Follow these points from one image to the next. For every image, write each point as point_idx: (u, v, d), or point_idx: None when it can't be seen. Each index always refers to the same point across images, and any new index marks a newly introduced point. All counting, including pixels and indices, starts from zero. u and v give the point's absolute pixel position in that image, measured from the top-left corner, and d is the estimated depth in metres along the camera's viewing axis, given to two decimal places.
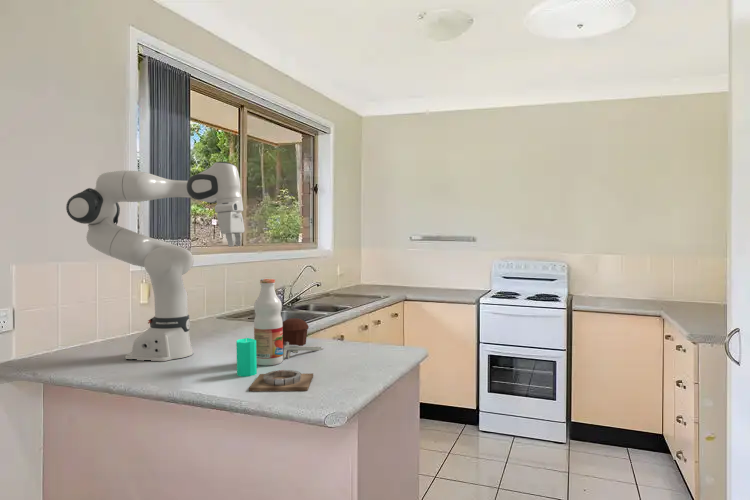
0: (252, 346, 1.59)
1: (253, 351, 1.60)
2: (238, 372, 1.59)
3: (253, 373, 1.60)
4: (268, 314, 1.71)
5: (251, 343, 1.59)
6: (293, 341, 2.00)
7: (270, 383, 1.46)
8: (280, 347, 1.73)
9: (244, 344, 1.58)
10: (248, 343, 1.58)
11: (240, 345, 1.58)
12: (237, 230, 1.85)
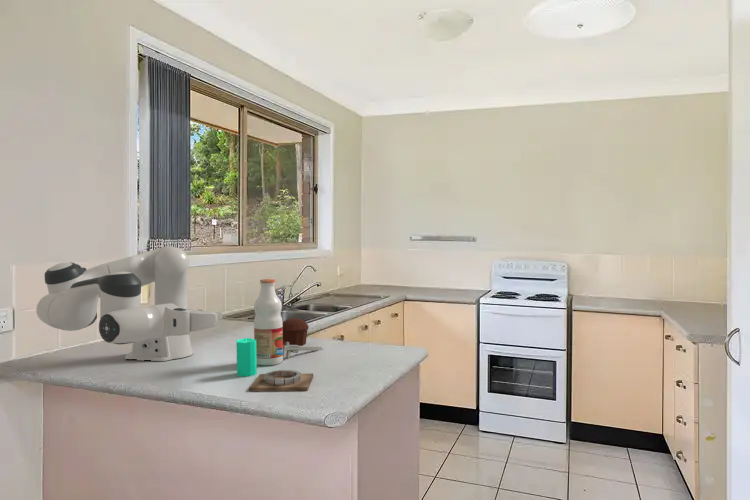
0: (252, 346, 1.59)
1: (253, 351, 1.60)
2: (238, 372, 1.59)
3: (253, 373, 1.60)
4: (268, 314, 1.71)
5: (251, 343, 1.59)
6: (293, 341, 2.00)
7: (270, 383, 1.46)
8: (280, 347, 1.73)
9: (244, 344, 1.58)
10: (248, 343, 1.59)
11: (240, 345, 1.58)
12: (196, 310, 1.46)
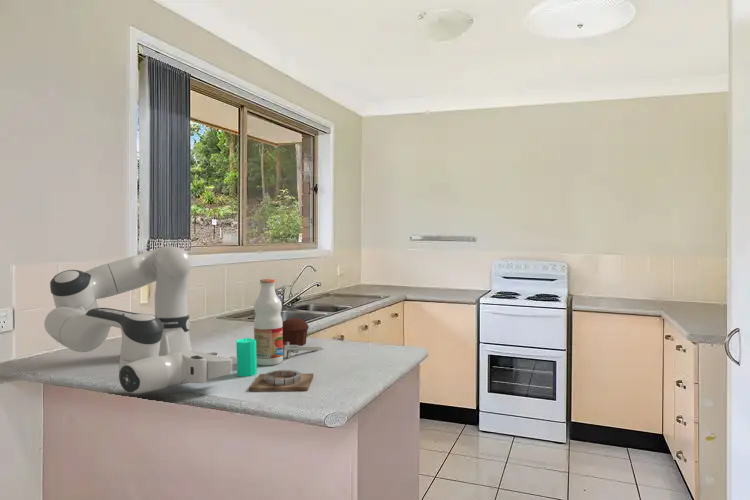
0: (252, 346, 1.59)
1: (253, 351, 1.60)
2: (238, 372, 1.59)
3: (253, 373, 1.60)
4: (268, 314, 1.71)
5: (251, 343, 1.59)
6: (293, 341, 2.00)
7: (270, 383, 1.46)
8: (280, 347, 1.73)
9: (244, 344, 1.58)
10: (248, 343, 1.58)
11: (240, 345, 1.58)
12: (212, 355, 1.50)
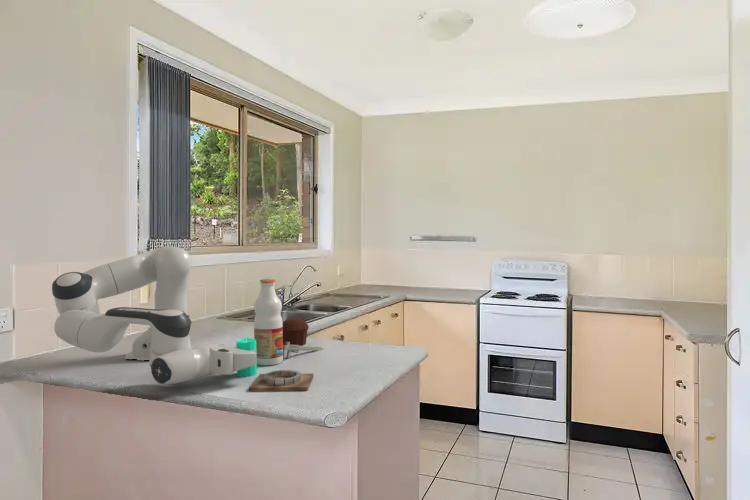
0: (252, 346, 1.59)
1: None
2: (238, 372, 1.59)
3: (253, 373, 1.60)
4: (268, 314, 1.71)
5: (251, 343, 1.59)
6: (293, 341, 2.00)
7: (270, 383, 1.46)
8: (280, 347, 1.73)
9: (244, 344, 1.58)
10: (248, 343, 1.58)
11: (240, 345, 1.58)
12: (236, 348, 1.57)
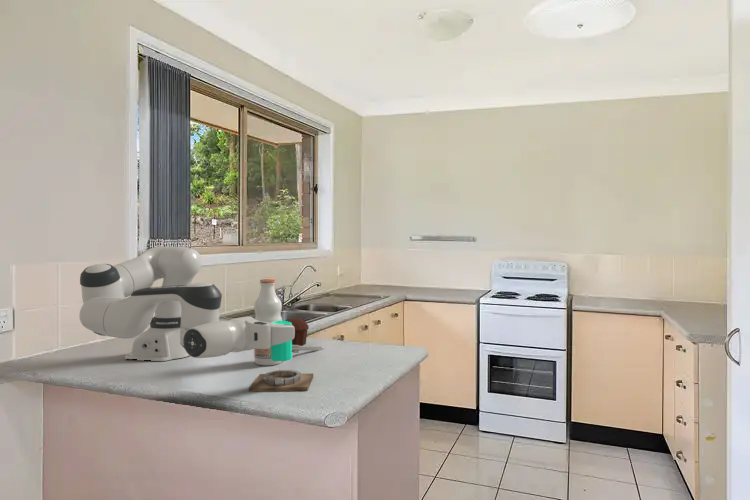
0: None
1: None
2: (273, 357, 1.48)
3: (289, 358, 1.48)
4: (268, 314, 1.71)
5: None
6: (293, 341, 2.00)
7: (270, 383, 1.46)
8: None
9: None
10: None
11: None
12: None
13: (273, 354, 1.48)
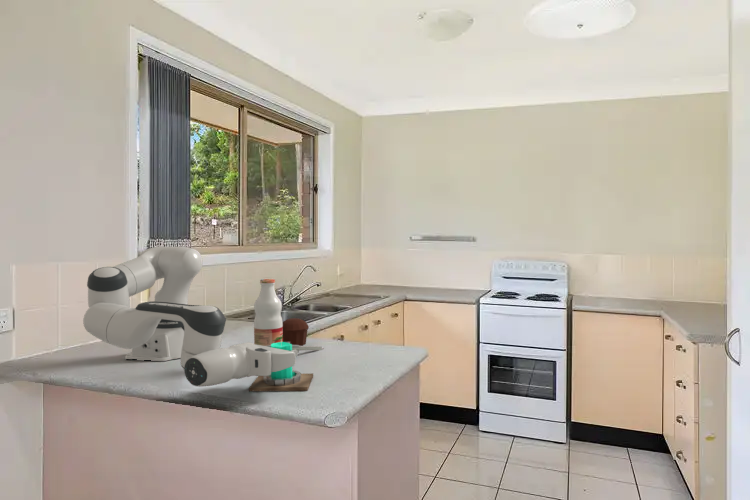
0: None
1: None
2: None
3: None
4: (268, 314, 1.71)
5: (287, 347, 1.48)
6: (293, 341, 2.00)
7: (270, 383, 1.46)
8: None
9: (280, 348, 1.47)
10: (284, 347, 1.47)
11: None
12: None
13: (273, 376, 1.48)
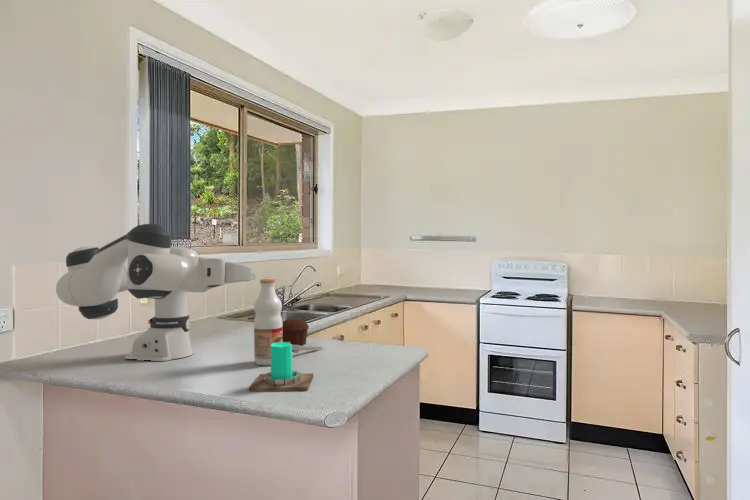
0: (288, 351, 1.48)
1: (289, 356, 1.48)
2: None
3: None
4: (268, 314, 1.71)
5: (287, 347, 1.48)
6: (293, 341, 2.00)
7: (270, 383, 1.46)
8: None
9: (280, 348, 1.47)
10: (284, 347, 1.47)
11: (276, 350, 1.47)
12: None
13: (273, 376, 1.48)
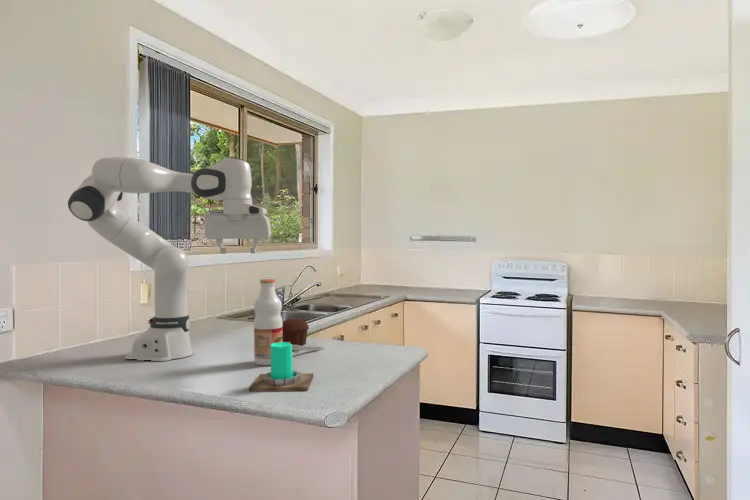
0: (288, 351, 1.48)
1: (289, 356, 1.48)
2: None
3: None
4: (268, 314, 1.71)
5: (287, 347, 1.48)
6: (293, 341, 2.00)
7: (270, 383, 1.46)
8: None
9: (280, 348, 1.47)
10: (284, 347, 1.47)
11: (276, 350, 1.47)
12: None
13: (273, 376, 1.48)
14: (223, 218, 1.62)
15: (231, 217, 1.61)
